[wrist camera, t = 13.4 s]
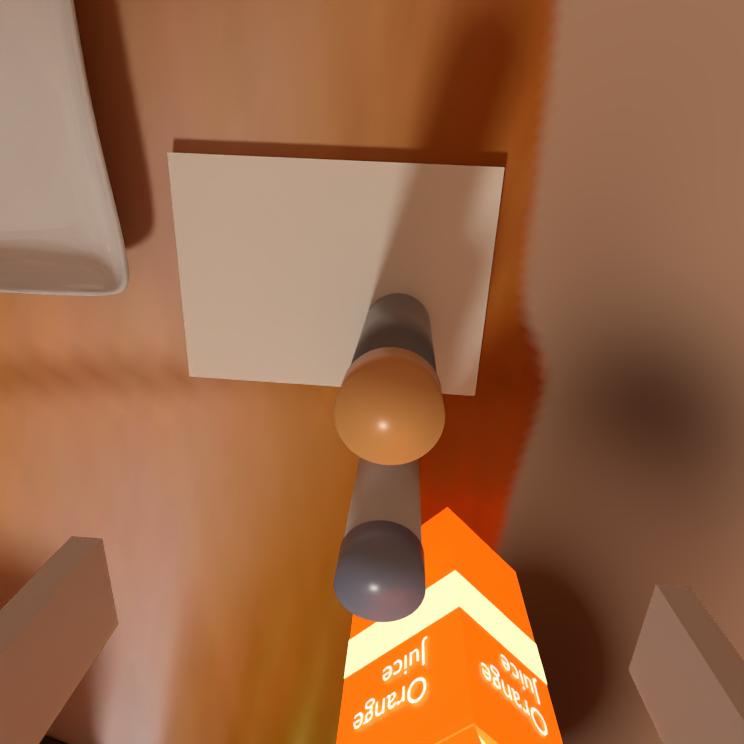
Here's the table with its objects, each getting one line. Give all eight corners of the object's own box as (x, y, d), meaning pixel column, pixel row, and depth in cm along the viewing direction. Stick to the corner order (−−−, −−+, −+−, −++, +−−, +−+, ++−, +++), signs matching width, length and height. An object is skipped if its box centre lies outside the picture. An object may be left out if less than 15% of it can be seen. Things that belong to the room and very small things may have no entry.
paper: (193, 373, 31) (189, 376, 31) (172, 153, 27) (167, 152, 26) (473, 392, 30) (474, 395, 30) (502, 167, 26) (504, 167, 25)
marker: (363, 356, 29) (334, 462, 18) (363, 290, 28) (332, 363, 17) (430, 358, 29) (441, 467, 18) (433, 292, 28) (448, 367, 16)
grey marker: (358, 472, 33) (333, 617, 22) (361, 419, 32) (334, 546, 20) (417, 476, 33) (421, 625, 22) (422, 424, 31) (429, 554, 20)
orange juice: (357, 569, 36) (301, 976, 17) (447, 504, 34) (494, 902, 15) (426, 630, 38) (444, 1061, 19) (518, 572, 35) (641, 1007, 17)
